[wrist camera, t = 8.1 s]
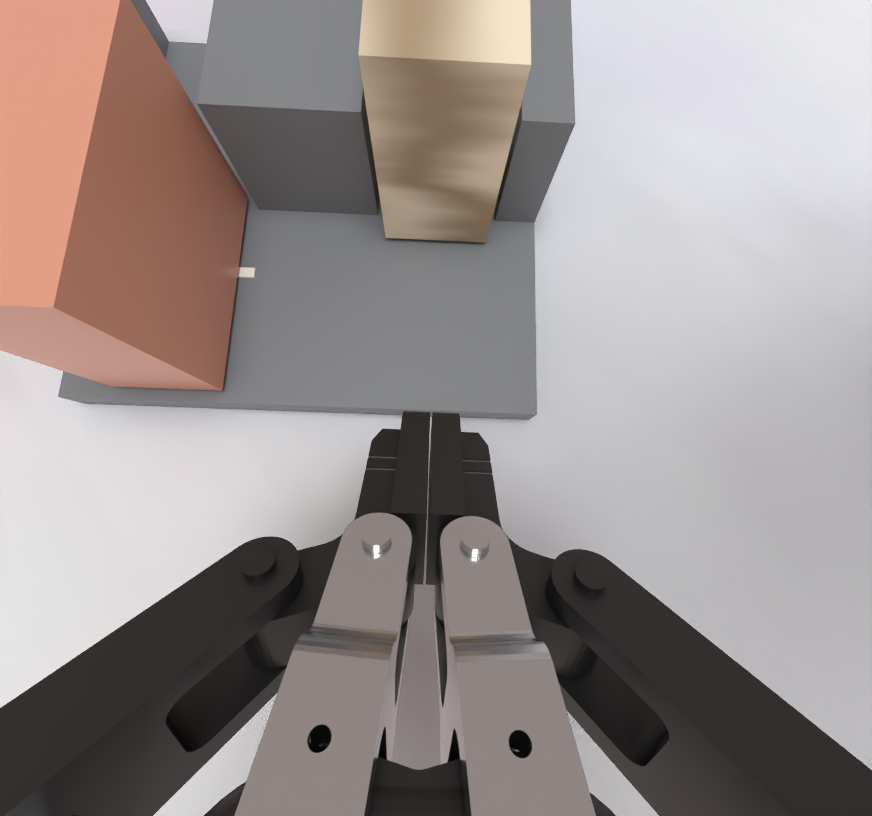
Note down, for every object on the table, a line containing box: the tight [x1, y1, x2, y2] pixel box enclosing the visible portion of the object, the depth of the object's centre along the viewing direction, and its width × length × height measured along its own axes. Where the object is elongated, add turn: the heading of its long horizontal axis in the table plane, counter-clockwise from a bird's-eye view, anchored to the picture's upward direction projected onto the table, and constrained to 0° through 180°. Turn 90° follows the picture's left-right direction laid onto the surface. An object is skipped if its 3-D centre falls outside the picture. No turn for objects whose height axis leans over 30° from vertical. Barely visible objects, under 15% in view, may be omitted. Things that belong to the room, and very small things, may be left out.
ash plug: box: [358, 0, 531, 242], centre depth 18 cm, size 5×10×9 cm, turn 178°
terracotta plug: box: [0, 0, 248, 391], centre depth 16 cm, size 5×10×9 cm, turn 178°
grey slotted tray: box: [58, 0, 575, 419], centre depth 19 cm, size 22×20×8 cm
